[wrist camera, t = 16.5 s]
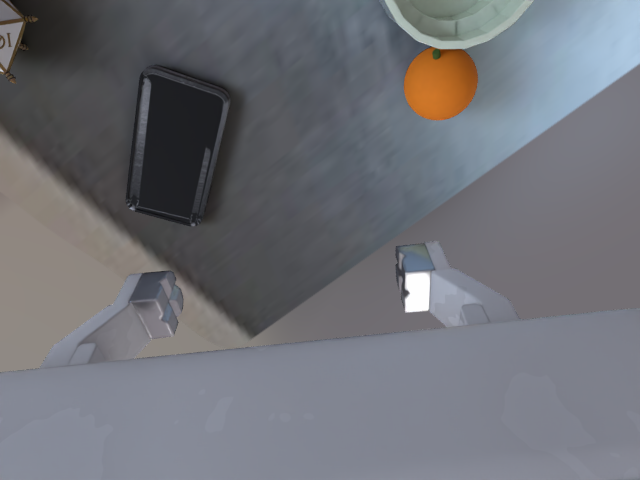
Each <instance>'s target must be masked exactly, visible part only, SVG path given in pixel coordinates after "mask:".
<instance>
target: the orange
mask: <svg viewBox="0 0 640 480" xmlns="http://www.w3.org/2000/svg"><path fill="white" fill-rule="evenodd" d="M477 83H478V75H477V69H476V66H475V64H474V62H473V60H472V58H471V57H470V56H469V55H468V54H467V53H466V52H465V51H464V50H462V49H437V48H434V47H430V48H428V49H426V50H424V51H423V52H421V53H420V54H419V55H418V56H417V57H416V58H415V59H414V60H413V61H412V63H411V64H410V66H409V68H408V70H407V72H406V76H405V80H404V92H405V96H406V99H407V102H408V104H409V105H410V107H411V108H412V109H413V110H414V111H415V112H416V113H417V114H418V115H420V116H422V117H424V118H427V119H430V120H445V119H449V118H451V117H454V116H456V115H457V114H459V113H460V112H462V111H463V110H464V109H465V108H466V107H467V106H468V105H469V103H470V102H471V101H472V99H473V97H474V95H475V92H476V89H477Z"/></svg>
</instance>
